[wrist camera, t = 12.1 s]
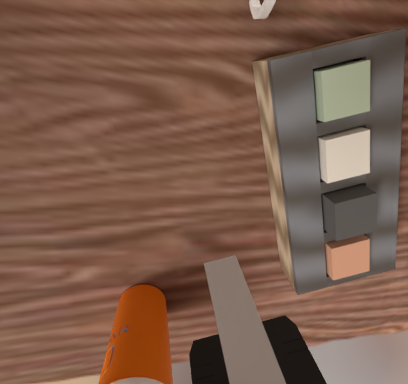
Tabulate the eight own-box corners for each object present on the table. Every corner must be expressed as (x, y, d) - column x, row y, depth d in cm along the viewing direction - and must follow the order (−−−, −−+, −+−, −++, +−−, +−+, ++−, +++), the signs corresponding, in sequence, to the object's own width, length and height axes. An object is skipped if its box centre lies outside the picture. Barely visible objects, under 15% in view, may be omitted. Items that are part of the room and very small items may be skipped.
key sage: (303, 71, 33) (321, 71, 30) (347, 60, 34) (370, 59, 30) (307, 116, 35) (324, 122, 32) (348, 106, 35) (370, 111, 32)
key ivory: (308, 133, 36) (325, 140, 32) (348, 123, 36) (370, 129, 33) (311, 172, 38) (327, 183, 34) (349, 162, 38) (369, 172, 35)
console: (252, 61, 36) (270, 60, 30) (365, 34, 36) (406, 28, 30) (280, 266, 48) (297, 294, 42) (366, 243, 48) (395, 268, 42)
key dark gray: (317, 190, 38) (334, 204, 34) (356, 180, 38) (377, 193, 34) (320, 225, 40) (336, 241, 36) (356, 215, 40) (376, 230, 36)
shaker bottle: (175, 280, 46) (185, 422, 28) (167, 325, 49) (171, 479, 31) (114, 276, 44) (82, 424, 26) (110, 323, 48) (78, 485, 29)
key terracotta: (316, 233, 42) (331, 249, 38) (351, 224, 42) (369, 239, 38) (318, 262, 44) (333, 280, 40) (352, 253, 44) (369, 270, 40)
